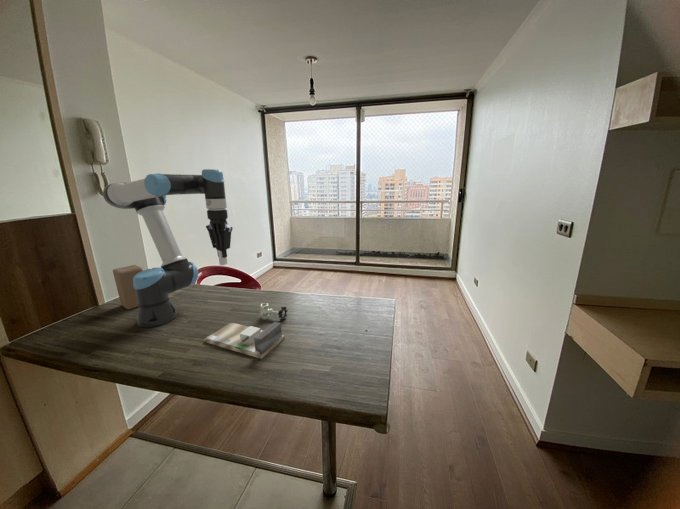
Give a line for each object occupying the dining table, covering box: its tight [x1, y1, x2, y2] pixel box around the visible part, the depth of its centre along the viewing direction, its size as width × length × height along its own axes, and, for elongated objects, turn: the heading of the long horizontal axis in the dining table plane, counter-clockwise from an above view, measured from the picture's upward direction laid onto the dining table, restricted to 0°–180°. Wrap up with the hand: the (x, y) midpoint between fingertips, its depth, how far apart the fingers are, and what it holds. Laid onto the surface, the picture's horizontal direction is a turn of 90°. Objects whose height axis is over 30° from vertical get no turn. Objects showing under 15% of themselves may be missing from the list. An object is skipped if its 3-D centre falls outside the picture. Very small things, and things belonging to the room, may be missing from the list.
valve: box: [259, 302, 288, 322], centre depth 120 cm, size 7×7×12 cm
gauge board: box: [204, 321, 286, 360], centre depth 103 cm, size 28×14×7 cm, turn 67°
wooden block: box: [112, 264, 144, 310], centre depth 134 cm, size 10×10×20 cm
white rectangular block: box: [240, 325, 262, 344], centre depth 101 cm, size 5×9×4 cm, turn 157°
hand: (223, 264), depth 113 cm, fingers closed
